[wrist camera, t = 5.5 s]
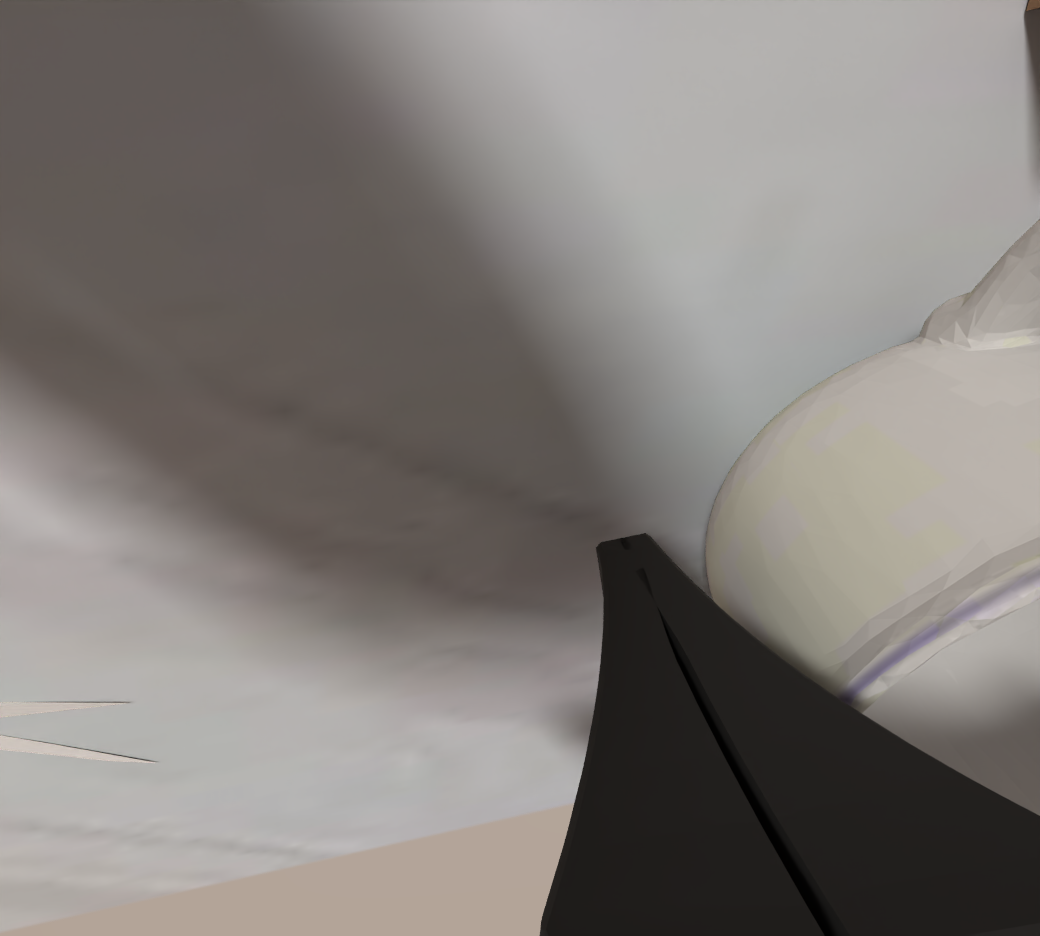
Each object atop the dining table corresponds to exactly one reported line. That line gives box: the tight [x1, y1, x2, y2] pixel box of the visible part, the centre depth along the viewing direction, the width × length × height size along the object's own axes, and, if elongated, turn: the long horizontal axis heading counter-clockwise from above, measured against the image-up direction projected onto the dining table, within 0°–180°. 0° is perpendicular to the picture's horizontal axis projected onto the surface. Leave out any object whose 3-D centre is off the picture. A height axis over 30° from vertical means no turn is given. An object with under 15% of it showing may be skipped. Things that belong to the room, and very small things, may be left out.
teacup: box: [706, 219, 1040, 816], centre depth 10 cm, size 14×11×8 cm
